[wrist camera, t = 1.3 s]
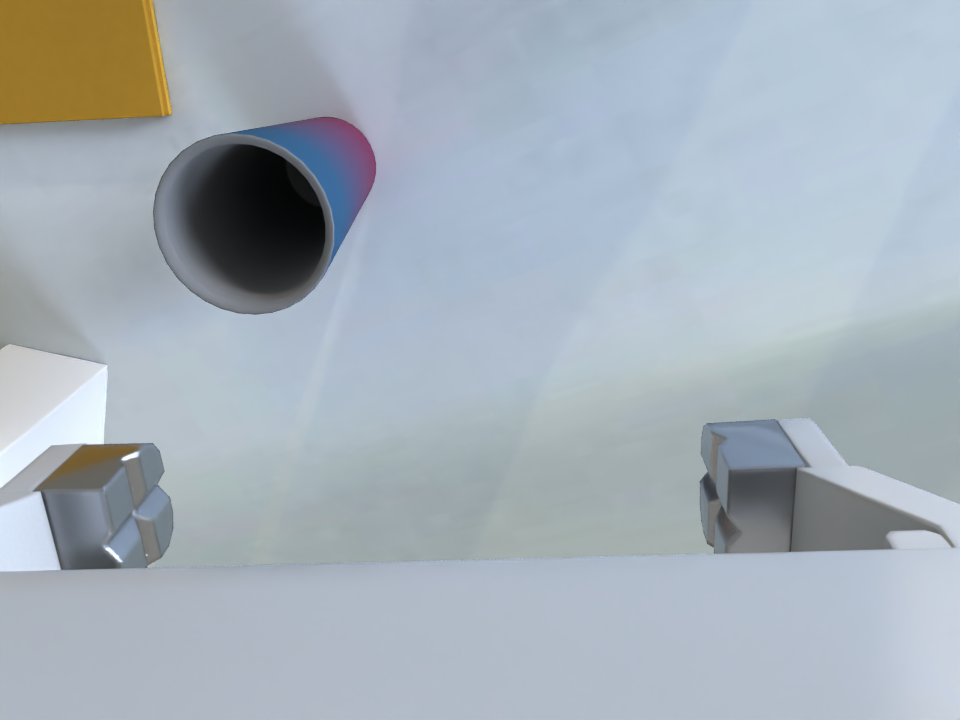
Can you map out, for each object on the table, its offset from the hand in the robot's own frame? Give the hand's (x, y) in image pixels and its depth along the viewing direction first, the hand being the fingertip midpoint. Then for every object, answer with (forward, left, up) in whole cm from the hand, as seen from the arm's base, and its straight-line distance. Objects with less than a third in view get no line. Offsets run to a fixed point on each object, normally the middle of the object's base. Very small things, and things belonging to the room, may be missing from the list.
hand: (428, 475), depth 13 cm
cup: (0, -9, -35) cm, 36 cm away
